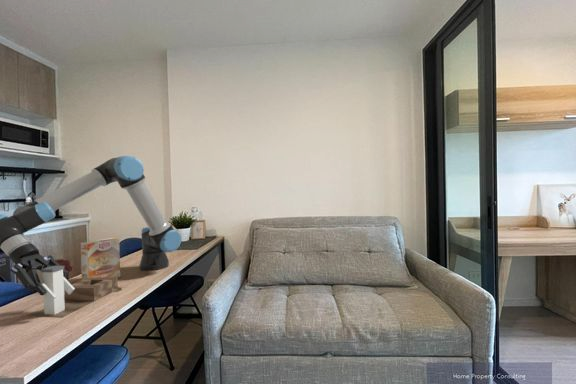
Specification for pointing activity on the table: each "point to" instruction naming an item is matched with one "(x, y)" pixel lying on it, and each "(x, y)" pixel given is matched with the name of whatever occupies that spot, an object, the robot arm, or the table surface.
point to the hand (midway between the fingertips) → (62, 295)
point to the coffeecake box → (100, 258)
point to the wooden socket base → (84, 295)
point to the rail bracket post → (54, 289)
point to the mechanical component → (65, 265)
